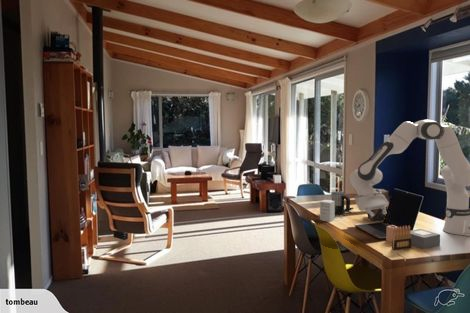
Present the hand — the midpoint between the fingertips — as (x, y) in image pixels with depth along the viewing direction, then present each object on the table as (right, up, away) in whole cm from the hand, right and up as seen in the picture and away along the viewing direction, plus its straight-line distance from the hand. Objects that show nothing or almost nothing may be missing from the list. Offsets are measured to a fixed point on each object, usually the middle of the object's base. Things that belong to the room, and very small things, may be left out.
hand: (379, 214), depth 222 cm
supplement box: (-20, -9, +38) cm, 44 cm away
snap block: (+4, -13, -8) cm, 16 cm away
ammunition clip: (+4, -15, -20) cm, 25 cm away
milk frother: (-5, -7, +58) cm, 58 cm away
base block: (+18, -14, -13) cm, 26 cm away
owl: (+11, -9, +38) cm, 41 cm away
